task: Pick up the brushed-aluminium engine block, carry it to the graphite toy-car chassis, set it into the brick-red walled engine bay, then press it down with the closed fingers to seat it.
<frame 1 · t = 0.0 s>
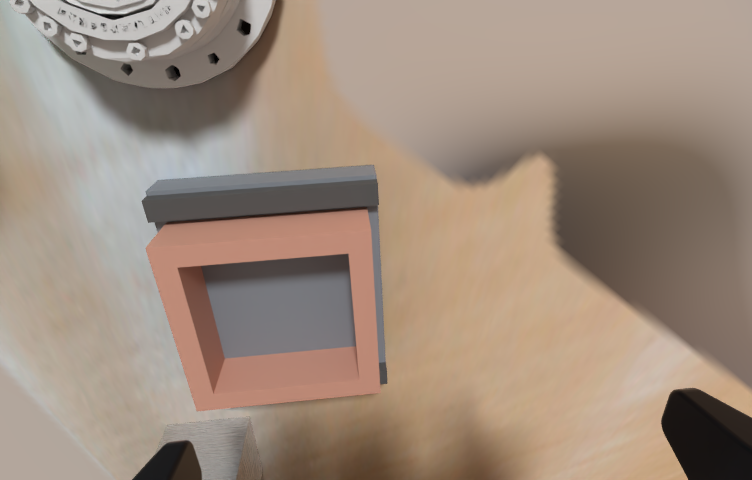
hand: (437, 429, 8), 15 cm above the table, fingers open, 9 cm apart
chassis: (285, 281, 24), on the table
engine block: (217, 447, 29), on the table
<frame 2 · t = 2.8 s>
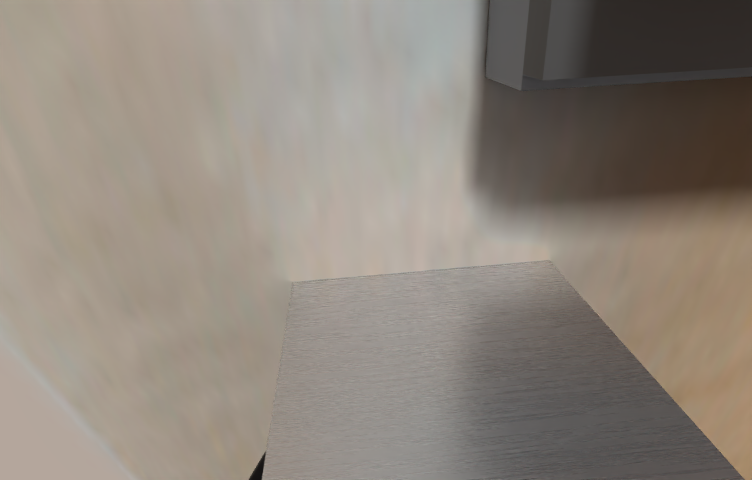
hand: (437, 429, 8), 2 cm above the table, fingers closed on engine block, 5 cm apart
engine block: (423, 370, 10), on the table, touching gripper
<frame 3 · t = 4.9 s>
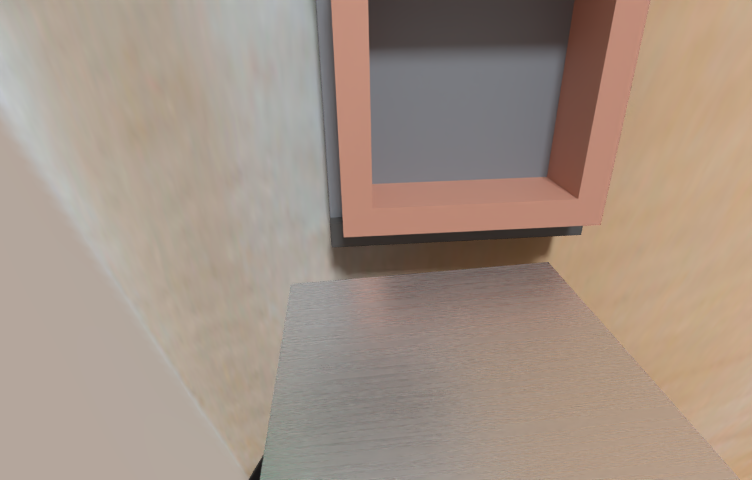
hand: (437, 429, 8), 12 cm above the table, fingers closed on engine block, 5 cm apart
chassis: (454, 80, 17), on the table
engine block: (421, 371, 10), point 10 cm above the table, touching gripper
when the fingers open (5 cm above the table, at t = 7.3 s): engine block drops 2 cm, resting on chassis.
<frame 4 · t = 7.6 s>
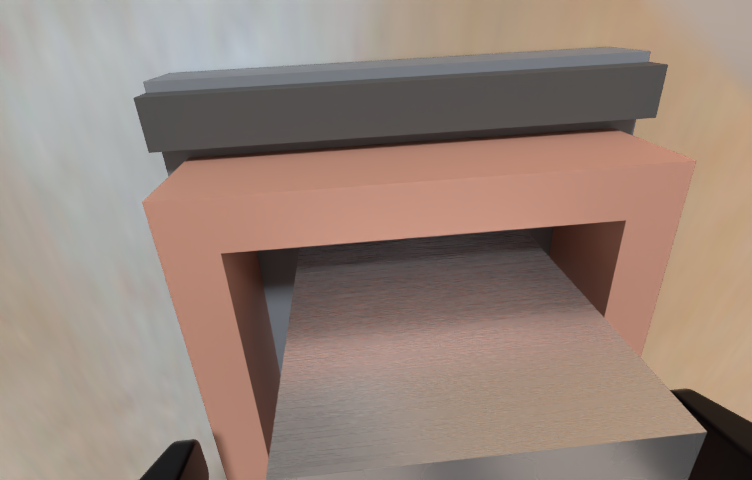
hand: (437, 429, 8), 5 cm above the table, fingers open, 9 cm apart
chassis: (401, 284, 13), on the table
engine block: (411, 316, 11), point 1 cm above the table, touching chassis
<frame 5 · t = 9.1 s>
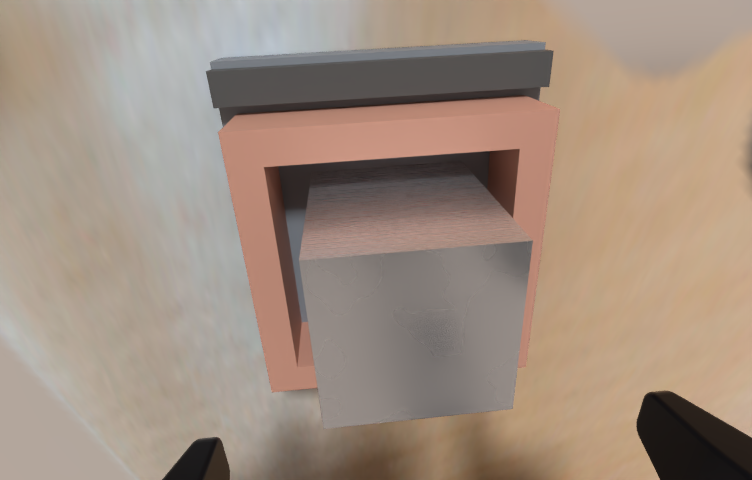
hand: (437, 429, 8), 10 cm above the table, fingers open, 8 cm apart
chassis: (384, 217, 17), on the table
engine block: (389, 234, 16), point 1 cm above the table, touching chassis
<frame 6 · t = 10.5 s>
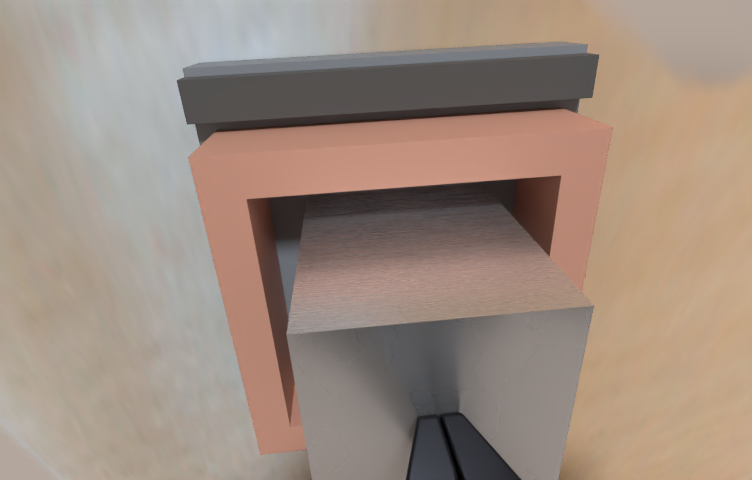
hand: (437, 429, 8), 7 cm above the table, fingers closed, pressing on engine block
chassis: (391, 245, 15), on the table
engine block: (398, 267, 14), point 1 cm above the table, touching chassis, gripper
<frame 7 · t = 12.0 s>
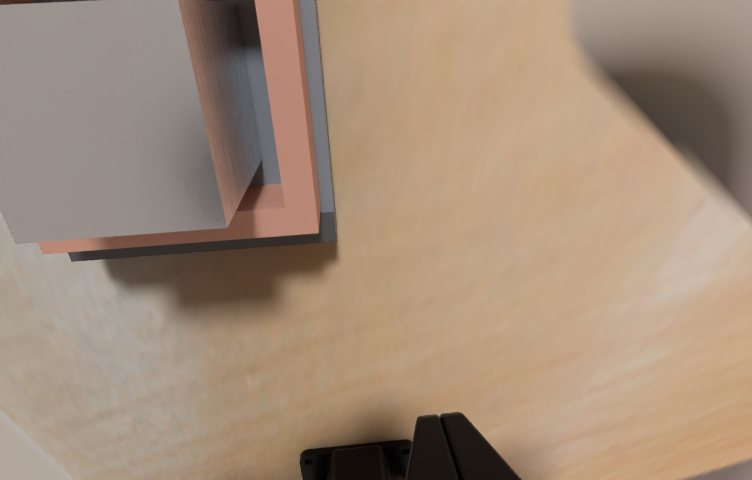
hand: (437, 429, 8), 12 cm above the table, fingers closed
chassis: (186, 85, 16), on the table
engine block: (175, 91, 15), point 1 cm above the table, touching chassis
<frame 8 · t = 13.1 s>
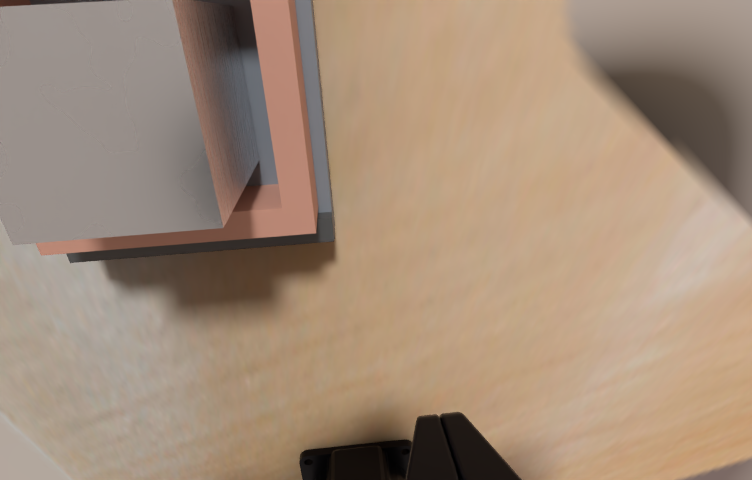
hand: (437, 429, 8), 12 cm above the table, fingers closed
chassis: (184, 86, 16), on the table
engine block: (172, 93, 15), point 1 cm above the table, touching chassis
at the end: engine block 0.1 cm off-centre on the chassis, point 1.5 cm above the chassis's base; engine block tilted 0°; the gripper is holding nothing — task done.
